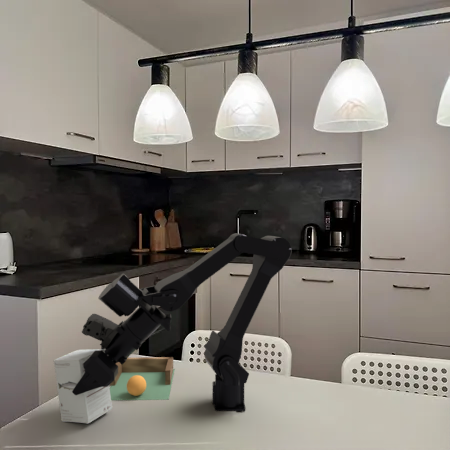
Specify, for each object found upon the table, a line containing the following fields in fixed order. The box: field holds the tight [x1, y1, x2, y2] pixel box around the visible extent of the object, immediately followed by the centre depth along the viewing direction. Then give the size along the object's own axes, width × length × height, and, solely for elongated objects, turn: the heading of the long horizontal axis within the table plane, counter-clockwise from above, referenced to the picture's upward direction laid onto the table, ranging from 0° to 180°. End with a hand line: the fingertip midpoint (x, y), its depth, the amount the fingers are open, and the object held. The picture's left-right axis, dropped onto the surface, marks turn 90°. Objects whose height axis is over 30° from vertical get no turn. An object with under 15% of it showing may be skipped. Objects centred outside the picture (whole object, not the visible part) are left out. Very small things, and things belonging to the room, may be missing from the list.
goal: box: [109, 356, 174, 387], centre depth 107 cm, size 14×9×4 cm, turn 92°
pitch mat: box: [109, 368, 176, 401], centre depth 103 cm, size 14×18×1 cm
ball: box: [127, 375, 146, 396], centre depth 97 cm, size 4×4×4 cm
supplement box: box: [53, 348, 113, 424], centre depth 87 cm, size 7×7×13 cm
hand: (81, 383), depth 86 cm, fingers closed on supplement box, 9 cm apart
